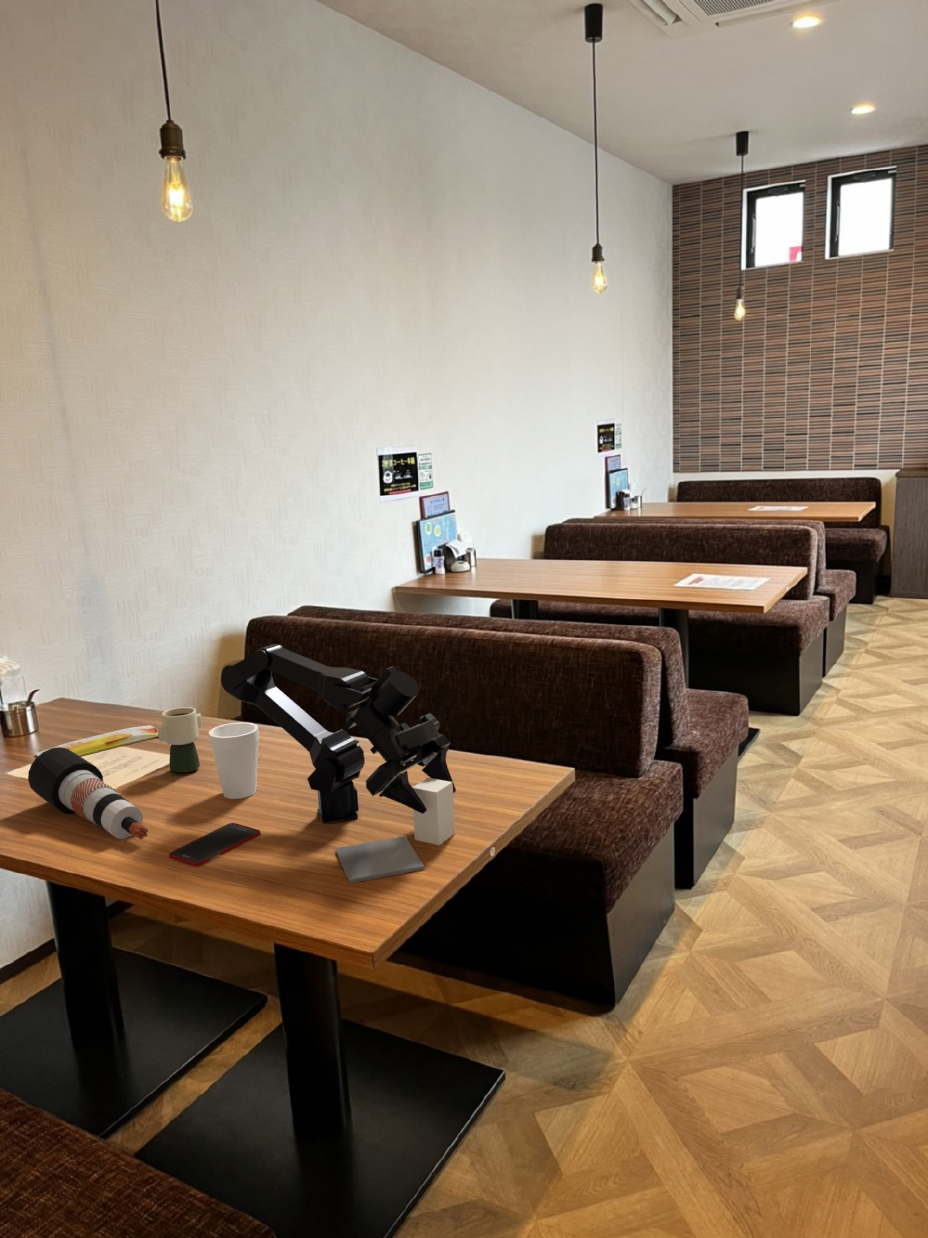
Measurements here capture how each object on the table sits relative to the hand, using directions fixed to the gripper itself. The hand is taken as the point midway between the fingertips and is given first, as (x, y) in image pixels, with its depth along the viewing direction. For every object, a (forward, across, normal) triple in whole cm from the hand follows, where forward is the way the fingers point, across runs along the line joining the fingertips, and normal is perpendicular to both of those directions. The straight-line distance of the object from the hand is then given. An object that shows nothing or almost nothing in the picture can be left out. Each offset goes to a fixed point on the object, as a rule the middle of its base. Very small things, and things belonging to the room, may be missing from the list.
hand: (440, 802), depth 158 cm
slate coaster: (+1, -12, +8) cm, 14 cm away
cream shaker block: (+4, 0, +6) cm, 7 cm away
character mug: (-43, +4, +53) cm, 68 cm away
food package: (-65, +8, +75) cm, 100 cm away
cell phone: (-19, -19, +29) cm, 40 cm away
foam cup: (-29, 0, +38) cm, 48 cm away
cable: (-39, -22, +49) cm, 66 cm away
